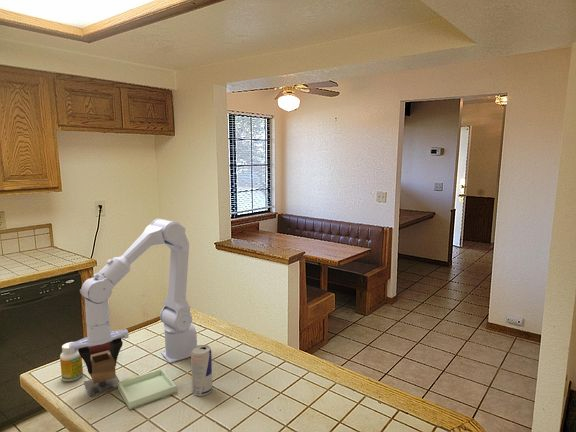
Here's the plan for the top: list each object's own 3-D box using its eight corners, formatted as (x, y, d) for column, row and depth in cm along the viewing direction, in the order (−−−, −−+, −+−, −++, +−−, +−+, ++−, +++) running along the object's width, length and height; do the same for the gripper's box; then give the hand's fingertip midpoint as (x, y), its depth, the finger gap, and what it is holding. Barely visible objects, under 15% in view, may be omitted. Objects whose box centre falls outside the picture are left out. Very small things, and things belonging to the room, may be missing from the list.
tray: (162, 374, 114) (161, 367, 113) (176, 392, 105) (176, 385, 105) (118, 388, 106) (117, 382, 106) (129, 409, 98) (129, 402, 97)
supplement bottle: (73, 382, 109) (71, 350, 108) (57, 380, 110) (54, 348, 109) (87, 372, 115) (84, 341, 113) (71, 370, 116) (68, 339, 114)
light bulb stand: (114, 374, 114) (113, 359, 113) (121, 386, 107) (120, 371, 107) (84, 383, 109) (82, 368, 108) (89, 397, 103) (88, 381, 102)
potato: (94, 352, 126) (93, 335, 126) (120, 353, 126) (118, 335, 125) (82, 364, 119) (80, 346, 118) (108, 365, 119) (107, 346, 118)
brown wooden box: (89, 372, 109) (87, 355, 108) (109, 366, 112) (108, 350, 112) (94, 383, 104) (93, 366, 103) (115, 377, 107) (114, 360, 106)
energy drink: (216, 387, 107) (214, 346, 106) (205, 398, 102) (204, 355, 101) (199, 383, 109) (197, 343, 107) (188, 394, 104) (186, 352, 102)
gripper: (122, 311, 113) (125, 354, 115) (65, 323, 104) (70, 371, 106) (129, 319, 107) (132, 364, 109) (69, 333, 99) (74, 382, 101)
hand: (102, 368), depth 108 cm, fingers closed on brown wooden box, 5 cm apart
